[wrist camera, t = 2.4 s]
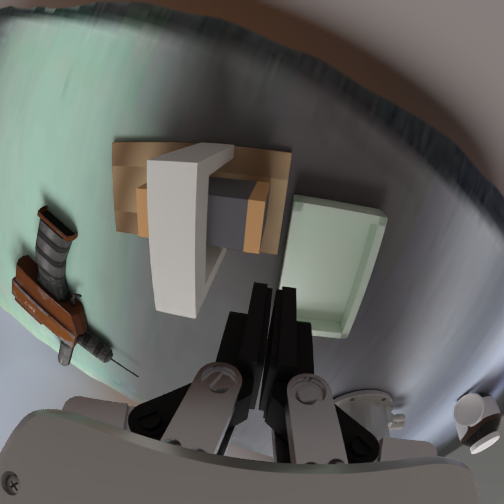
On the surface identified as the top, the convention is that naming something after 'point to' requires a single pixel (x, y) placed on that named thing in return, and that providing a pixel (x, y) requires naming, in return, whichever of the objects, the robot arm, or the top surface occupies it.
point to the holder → (240, 167)
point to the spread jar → (477, 421)
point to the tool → (55, 291)
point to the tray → (330, 260)
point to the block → (226, 213)
